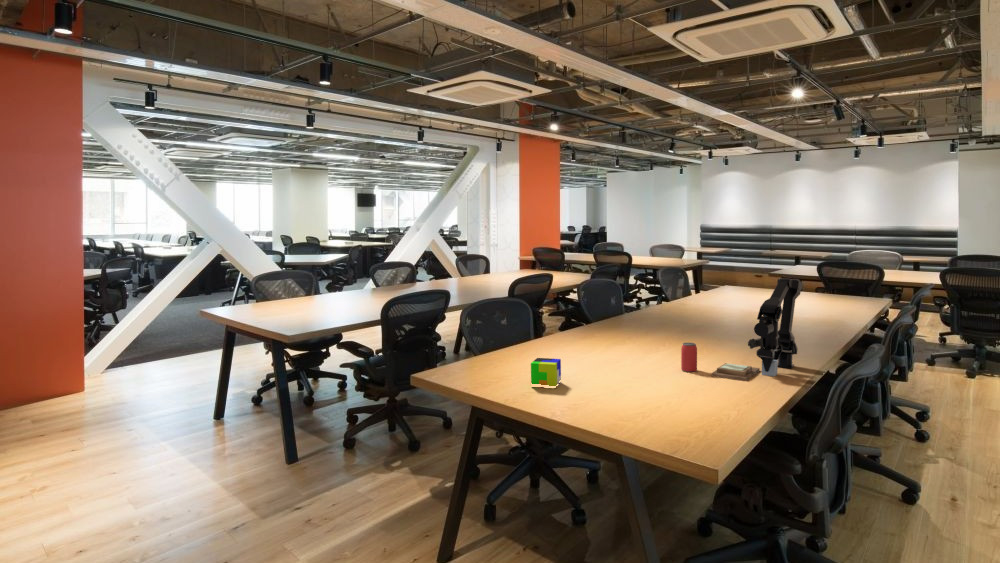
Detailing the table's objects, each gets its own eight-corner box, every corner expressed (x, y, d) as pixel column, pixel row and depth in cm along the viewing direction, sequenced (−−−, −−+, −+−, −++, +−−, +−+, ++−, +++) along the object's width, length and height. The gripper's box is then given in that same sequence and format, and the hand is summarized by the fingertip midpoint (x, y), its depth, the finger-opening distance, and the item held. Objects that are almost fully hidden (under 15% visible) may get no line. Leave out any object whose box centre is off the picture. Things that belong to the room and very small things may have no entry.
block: (764, 372, 244) (765, 358, 244) (777, 374, 241) (777, 360, 241) (761, 375, 240) (761, 361, 240) (774, 376, 237) (774, 362, 237)
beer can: (698, 372, 246) (698, 345, 245) (682, 372, 248) (682, 345, 247) (695, 368, 253) (696, 342, 252) (680, 368, 254) (680, 342, 253)
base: (726, 366, 256) (726, 359, 255) (759, 370, 247) (759, 363, 247) (711, 376, 240) (711, 368, 240) (746, 380, 232) (746, 373, 231)
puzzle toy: (561, 382, 236) (560, 359, 235) (555, 389, 227) (555, 364, 226) (537, 381, 239) (537, 357, 238) (531, 387, 230) (530, 363, 229)
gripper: (756, 327, 251) (755, 362, 253) (743, 334, 237) (743, 371, 238) (783, 330, 244) (783, 365, 246) (772, 337, 230) (771, 375, 231)
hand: (769, 369), depth 241 cm, fingers open, 9 cm apart
